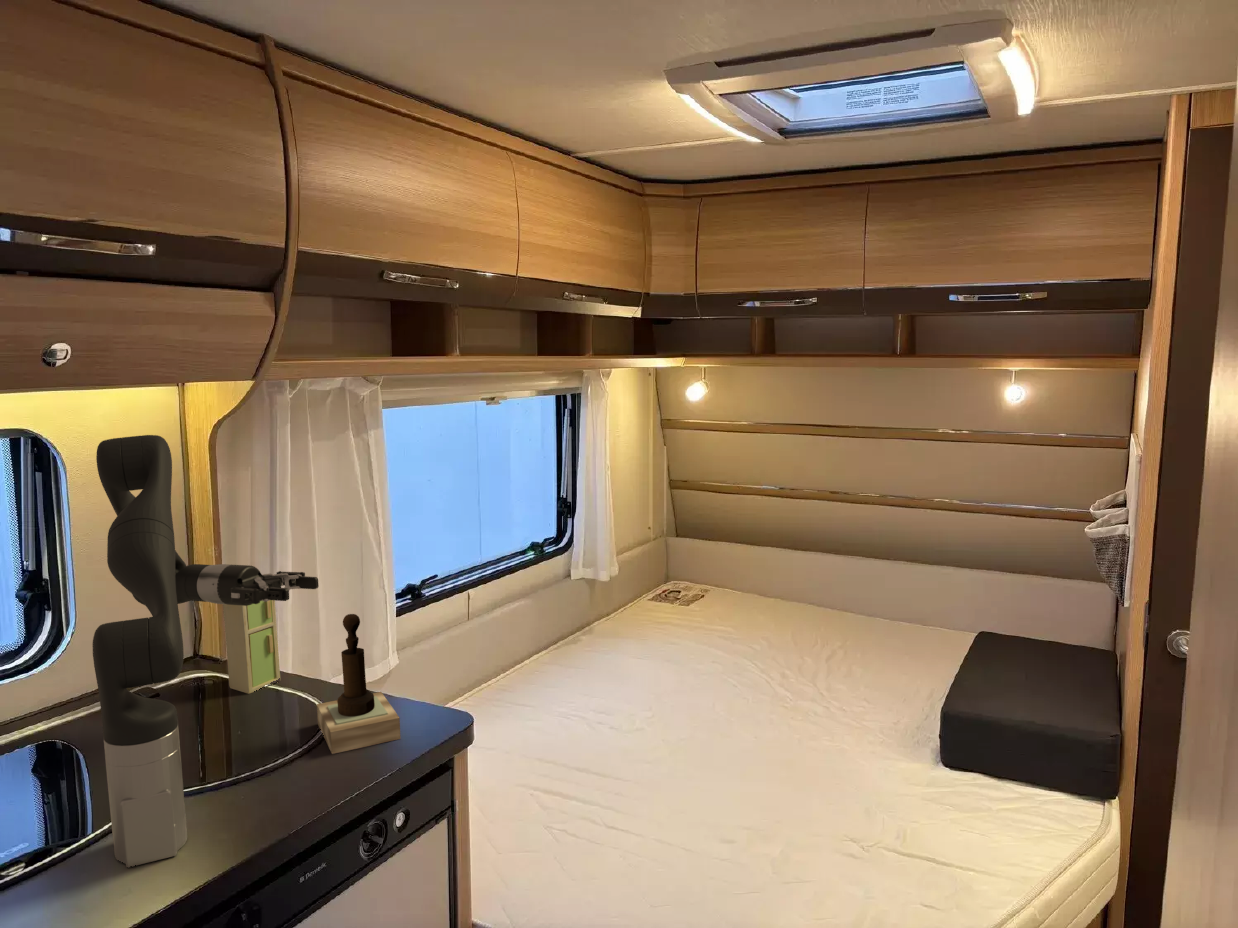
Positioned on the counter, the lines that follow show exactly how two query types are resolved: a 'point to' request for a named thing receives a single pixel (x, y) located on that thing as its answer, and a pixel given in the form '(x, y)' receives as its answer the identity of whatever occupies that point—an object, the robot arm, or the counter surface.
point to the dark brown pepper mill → (354, 674)
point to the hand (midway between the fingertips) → (303, 588)
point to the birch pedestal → (358, 725)
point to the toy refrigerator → (251, 645)
